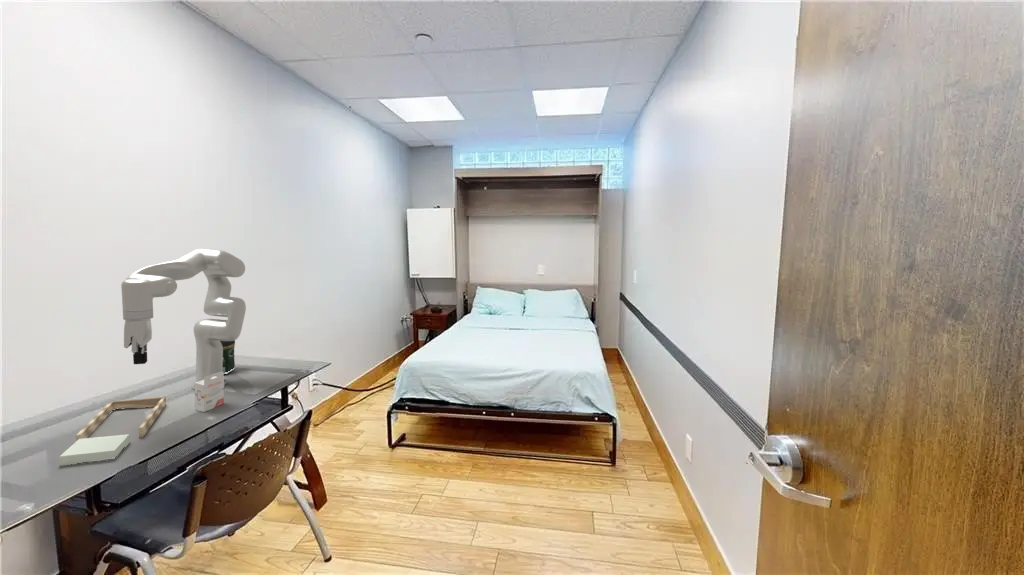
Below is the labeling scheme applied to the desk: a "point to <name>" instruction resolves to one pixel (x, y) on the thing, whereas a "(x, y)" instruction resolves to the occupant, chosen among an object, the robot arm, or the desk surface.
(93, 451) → the cover plate
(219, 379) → the ink cartridge box
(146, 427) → the wooden frame
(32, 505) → the desk surface
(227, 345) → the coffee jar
